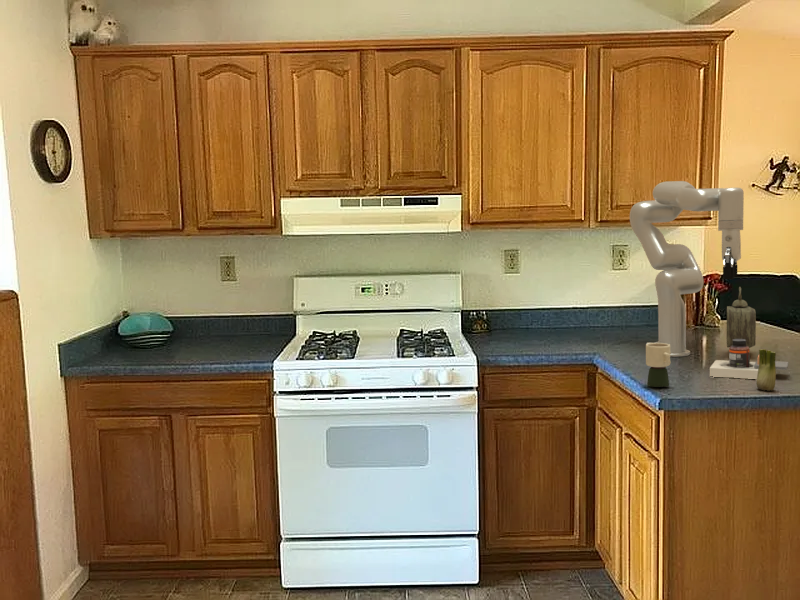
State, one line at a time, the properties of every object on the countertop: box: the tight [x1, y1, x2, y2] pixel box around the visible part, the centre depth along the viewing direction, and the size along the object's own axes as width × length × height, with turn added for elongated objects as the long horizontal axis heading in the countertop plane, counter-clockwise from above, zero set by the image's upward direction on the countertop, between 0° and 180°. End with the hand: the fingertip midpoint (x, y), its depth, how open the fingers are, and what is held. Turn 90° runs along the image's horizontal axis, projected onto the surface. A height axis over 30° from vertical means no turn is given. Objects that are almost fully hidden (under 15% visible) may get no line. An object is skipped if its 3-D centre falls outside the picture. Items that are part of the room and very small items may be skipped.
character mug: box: [645, 342, 672, 388], centre depth 226 cm, size 11×7×13 cm, turn 15°
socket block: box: [709, 359, 759, 379], centre depth 239 cm, size 16×14×3 cm
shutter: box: [754, 354, 789, 371], centre depth 234 cm, size 9×9×3 cm
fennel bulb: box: [756, 348, 777, 392], centre depth 217 cm, size 6×5×12 cm
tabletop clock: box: [726, 286, 757, 349], centre depth 267 cm, size 14×9×25 cm, turn 158°
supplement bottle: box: [728, 339, 751, 368], centre depth 238 cm, size 6×6×11 cm
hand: (730, 277), depth 246 cm, fingers open, 9 cm apart
